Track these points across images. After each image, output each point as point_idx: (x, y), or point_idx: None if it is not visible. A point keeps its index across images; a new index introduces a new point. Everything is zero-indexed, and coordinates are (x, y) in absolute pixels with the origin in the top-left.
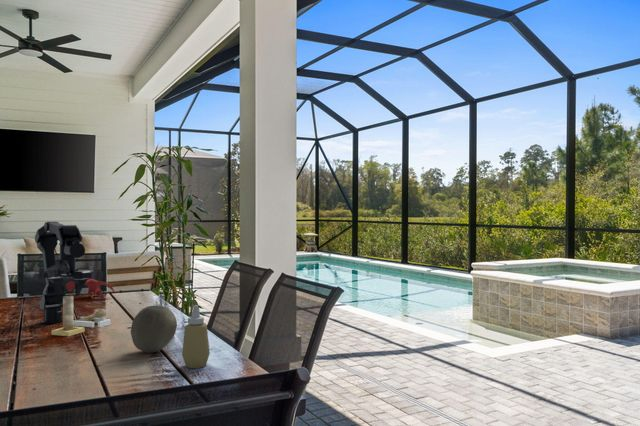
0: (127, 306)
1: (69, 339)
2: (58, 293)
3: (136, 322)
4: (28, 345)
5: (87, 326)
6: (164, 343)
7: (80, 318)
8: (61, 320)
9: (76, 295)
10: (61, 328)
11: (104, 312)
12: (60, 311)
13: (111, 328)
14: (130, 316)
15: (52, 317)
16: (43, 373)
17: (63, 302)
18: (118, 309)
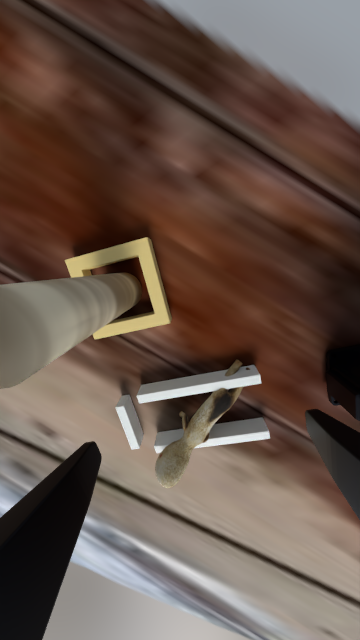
0: (327, 599)
1: (22, 231)
2: (317, 430)
3: None
4: (38, 60)
5: (161, 381)
6: None
7: (213, 404)
8: (327, 391)
9: (79, 448)
10: (149, 283)
11: (156, 471)
12: (356, 413)
13: (77, 401)
14: (188, 520)
15: (357, 371)
16: None
17: (26, 282)
18: (315, 569)
